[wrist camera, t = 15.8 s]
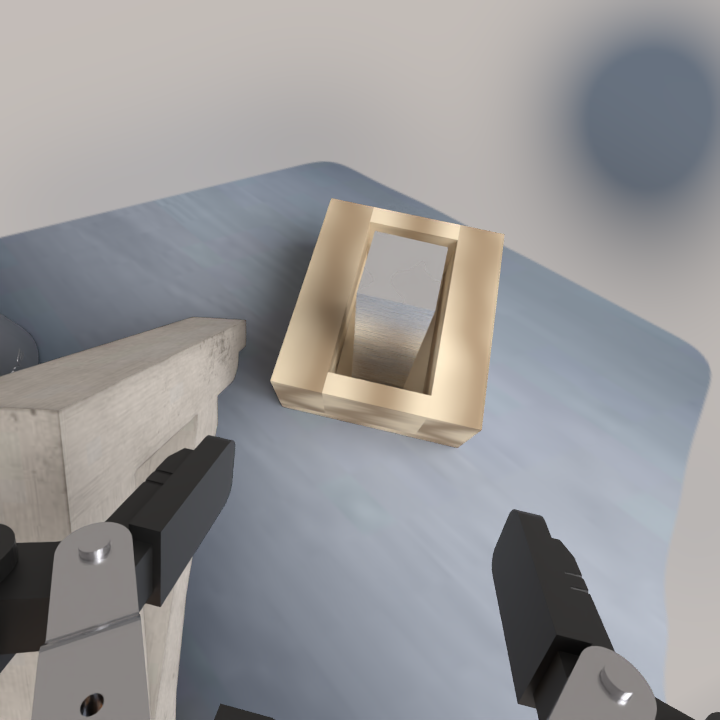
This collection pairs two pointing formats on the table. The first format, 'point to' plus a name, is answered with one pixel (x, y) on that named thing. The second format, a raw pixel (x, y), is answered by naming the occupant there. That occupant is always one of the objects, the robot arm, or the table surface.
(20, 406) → the grey letter a
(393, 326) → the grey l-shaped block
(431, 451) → the table surface
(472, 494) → the table surface
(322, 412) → the beech well block
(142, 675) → the robot arm
